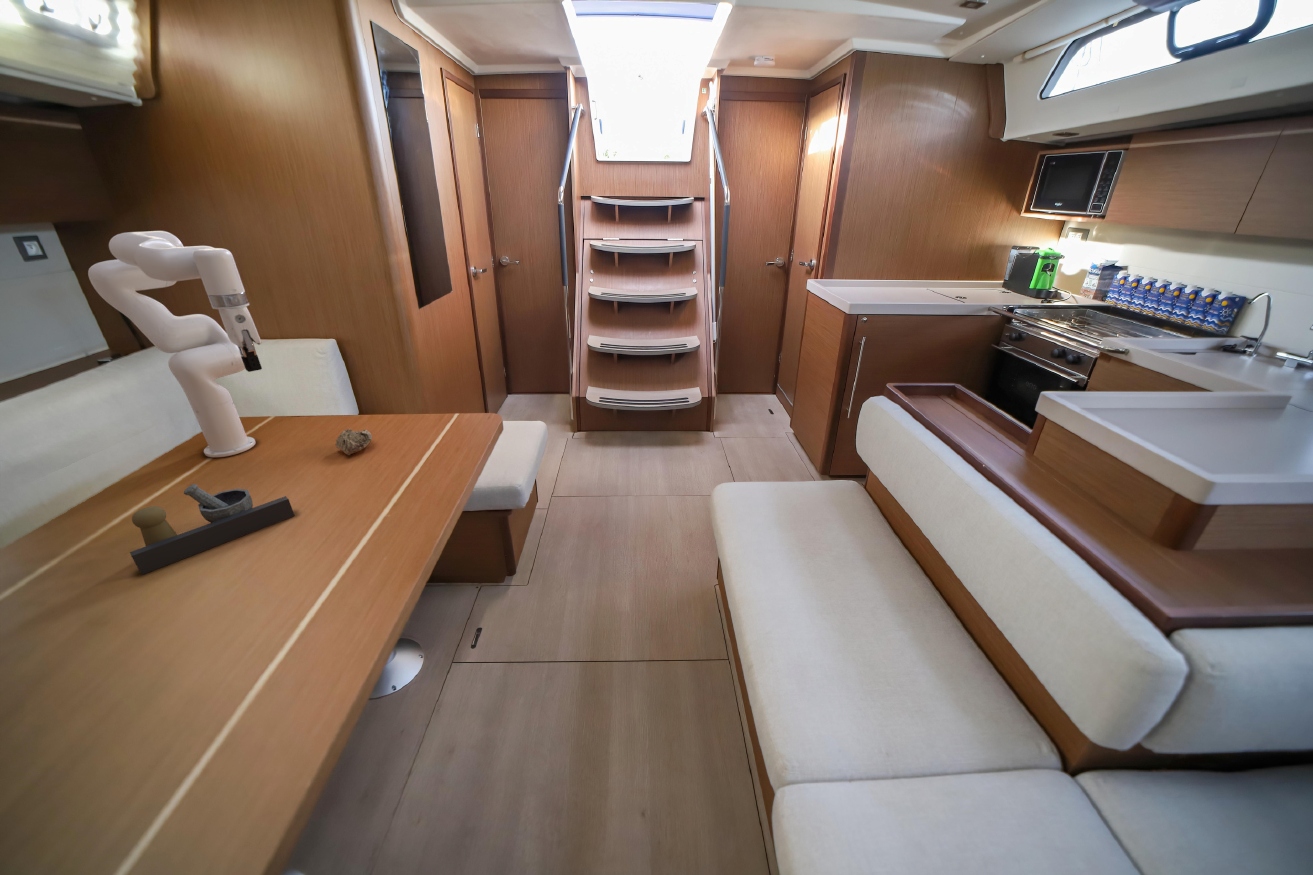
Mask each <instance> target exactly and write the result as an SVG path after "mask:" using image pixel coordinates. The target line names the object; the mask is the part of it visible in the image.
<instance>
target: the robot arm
mask: <svg viewBox="0 0 1313 875" xmlns="http://www.w3.org/2000/svg"><path fill="white" fill-rule="evenodd" d="M108 249H109V251H110V253H111V255H112V256H113V257H114V258H116V259H109V260H104V261H100V262H96V263H94V264H93V265H91V266H90V267H89V268H88V271H87V275H88V279H89V281H90V283H91V285H92V287H93V289H94V290H95V291H96V293H97V294H98V295H99V296H100V297H101V298H102V299H103V300H104V301H105V302H106V303H107V304H109V305H110V306H111V307H113V309H115V310H117V311H118V312H120V313H121V314H122V315H124V316H125V317H126V318H128V319H129V320H130V321H131V322H132V324H133V325H134V326H136V327H137V328H138V330H139V331H140V332H141V333H142V334H143V335H144V336H145V337H146V338H147V339H148V340H149V342H150V343H151V344H153V345H154V346H155V347H156V348H157V349H158V350H159V351H161V352H163V353H166V354H173V355H171V356H170V358H169V359H168V368H169V370H170V372H171V374H172V375H173V376H174V377H175V380H176V381H177V382H178V383H179V385H180V387H181V388H182V390H183V392H184V394H185V396H186V398H187V400H188V403H189V405H190V407H191V409H192V411H193V414H194V416H195V419H196V420H197V424H198V425H199V428H200V430H201V432H202V434H203V437H204V440H205V441H206V444H207V446H206V447H205V448H204V449H203V454H204V456H206V457H208V458H224V457H225V458H226V457H230V456H235V455H238V454H241V453H245V452H246V451H248V450H250V449H251V448H253V447H254V446H255V445H256V443H257V442H256V438H254V437H252V436H247V434H246V430H245V428H244V425H243V423H242V421H241V418H240V416H239V413H238V410H237V407H236V405H235V403H234V400H233V398H232V395H231V393H230V392H229V389H227V388H226V387H224V386H223V385H221V384H219V383H217V382H216V381H215V380H217V379H220V378H224V377H227V376H231V375H234V374H237V373H241V372H242V371H244V370H246V371H247V372H248V373H251V372H257V371H261V370H262V369H263V368H262V364H261V361H260V358H259V356H258V354H257V351H256V348H255V345H254V344H256V345H259V346H260V345H261V344H262V340H261V337H260V335H259V332H258V329H257V327H256V325H255V322H254V319H253V317H252V314H251V312H250V311H249V309H248V306H250V302H249V299H248V297H247V293H246V290H245V287H244V284H243V281H242V279H241V275H240V272H239V270H238V267H237V265H236V264H237V263H236V261H235V258H234V256H233V253H232V251H230V250H229V249H226V248H221V247H213V246H210V245H192V246H184V244H183V243H182V242H181V240H180V239H179V238H178V237H177V236H176V235H174V234H173V233H171V232H168V231H165V230H151V231H150V230H148V231H129V232H121V233H118V234H116V235H114V236H112V237H111V238H110V240H109V242H108ZM196 279H197V280H198V279H200V280H201V281H202V285H203V287H204V290H205V293H206V295H207V298H208V301H209V304H210V306H211V308H212V309H213V310H218V313H219V315H220V318H221V321H222V324H223V327H224V329H225V330H224V329H223V328H222V326H221V325H220V324H219V323H218V321H216V320H215V319H214V318H212V317H210V316H208V315H206V314H204V313H203V314H202V313H193V314H187V315H181V316H179V315H178V316H177V315H174V314H173V313H172V312H171V311H170V310H169V309H168V308H167V307H166V306H165V305H164V304H162V302H159V301H158V300H156V299H154V298H153V297H150V296H147V295H146V294H142V293H139V292H137V291H146V290H154V289H162V288H168V287H171V286H174V285H175V284H176V283H177V282H181V281H189V280H196Z"/></svg>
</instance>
